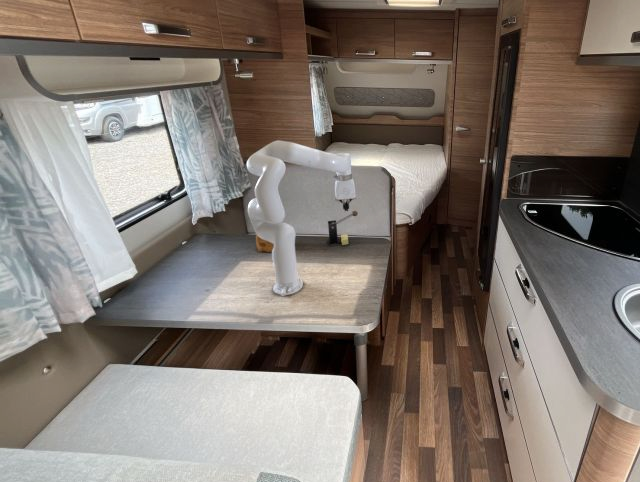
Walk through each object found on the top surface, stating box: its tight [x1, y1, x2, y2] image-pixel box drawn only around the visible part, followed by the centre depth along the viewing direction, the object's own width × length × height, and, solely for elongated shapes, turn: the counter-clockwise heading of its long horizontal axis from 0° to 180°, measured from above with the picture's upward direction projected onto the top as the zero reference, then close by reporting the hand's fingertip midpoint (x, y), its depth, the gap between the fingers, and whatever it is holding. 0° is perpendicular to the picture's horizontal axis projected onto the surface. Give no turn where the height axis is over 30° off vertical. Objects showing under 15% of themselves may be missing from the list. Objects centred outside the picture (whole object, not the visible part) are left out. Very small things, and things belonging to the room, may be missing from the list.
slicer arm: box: [330, 210, 359, 225], centre depth 188 cm, size 17×3×3 cm, turn 106°
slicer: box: [327, 219, 339, 245], centre depth 189 cm, size 5×6×13 cm
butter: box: [340, 233, 349, 246], centre depth 190 cm, size 7×4×4 cm, turn 16°
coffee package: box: [255, 233, 274, 253], centre depth 180 cm, size 10×12×22 cm
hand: (346, 210), depth 177 cm, fingers closed
